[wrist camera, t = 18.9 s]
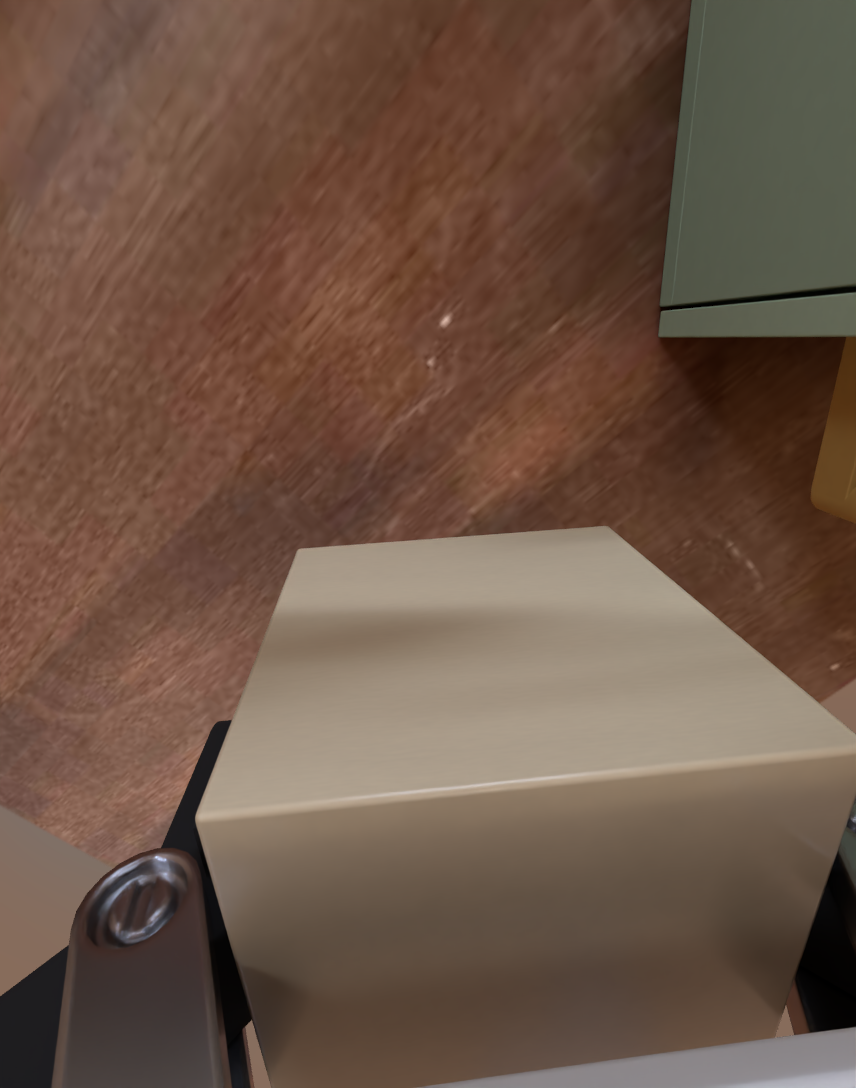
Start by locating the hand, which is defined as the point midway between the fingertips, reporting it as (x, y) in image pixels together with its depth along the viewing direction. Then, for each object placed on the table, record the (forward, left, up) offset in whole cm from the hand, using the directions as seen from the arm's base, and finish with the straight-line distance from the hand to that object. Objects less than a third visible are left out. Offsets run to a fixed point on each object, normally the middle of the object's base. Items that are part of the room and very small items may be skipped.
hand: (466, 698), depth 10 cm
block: (0, 0, -1) cm, 1 cm away
